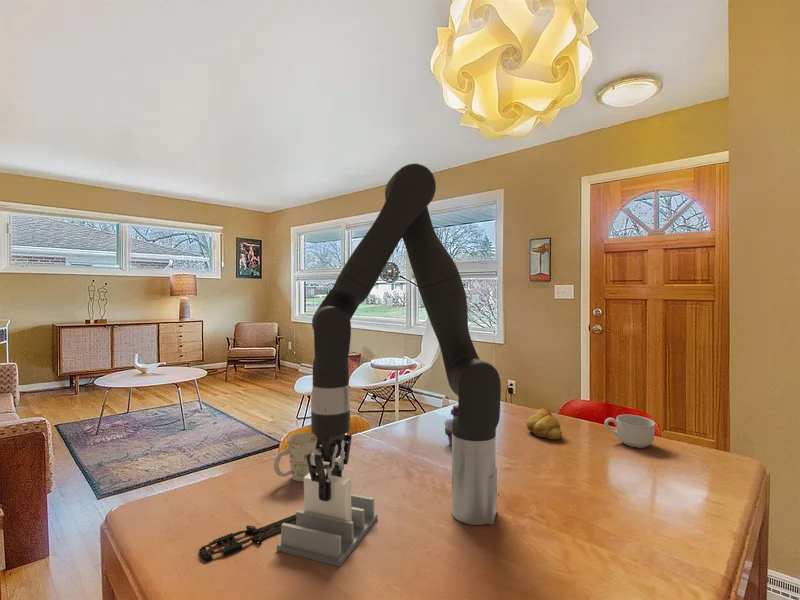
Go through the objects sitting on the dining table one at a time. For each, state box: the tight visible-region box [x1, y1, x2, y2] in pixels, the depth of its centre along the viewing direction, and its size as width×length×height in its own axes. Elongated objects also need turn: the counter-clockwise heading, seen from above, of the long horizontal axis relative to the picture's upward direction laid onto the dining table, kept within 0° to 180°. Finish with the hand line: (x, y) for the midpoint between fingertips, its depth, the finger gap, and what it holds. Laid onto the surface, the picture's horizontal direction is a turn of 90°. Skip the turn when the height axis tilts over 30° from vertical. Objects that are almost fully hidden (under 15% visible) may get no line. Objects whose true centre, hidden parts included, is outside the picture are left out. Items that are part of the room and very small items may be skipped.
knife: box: [198, 513, 296, 563], centre depth 81 cm, size 25×6×1 cm, turn 126°
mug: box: [273, 432, 317, 483], centre depth 105 cm, size 8×13×10 cm, turn 137°
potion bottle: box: [444, 404, 458, 446], centre depth 130 cm, size 9×9×12 cm
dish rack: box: [276, 493, 378, 568], centre depth 81 cm, size 16×13×4 cm
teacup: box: [604, 414, 656, 449], centre depth 131 cm, size 14×11×8 cm
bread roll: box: [526, 407, 563, 440], centre depth 138 cm, size 13×10×8 cm
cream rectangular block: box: [303, 473, 352, 521], centre depth 81 cm, size 2×9×10 cm, turn 70°
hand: (330, 494), depth 81 cm, fingers open, 4 cm apart
